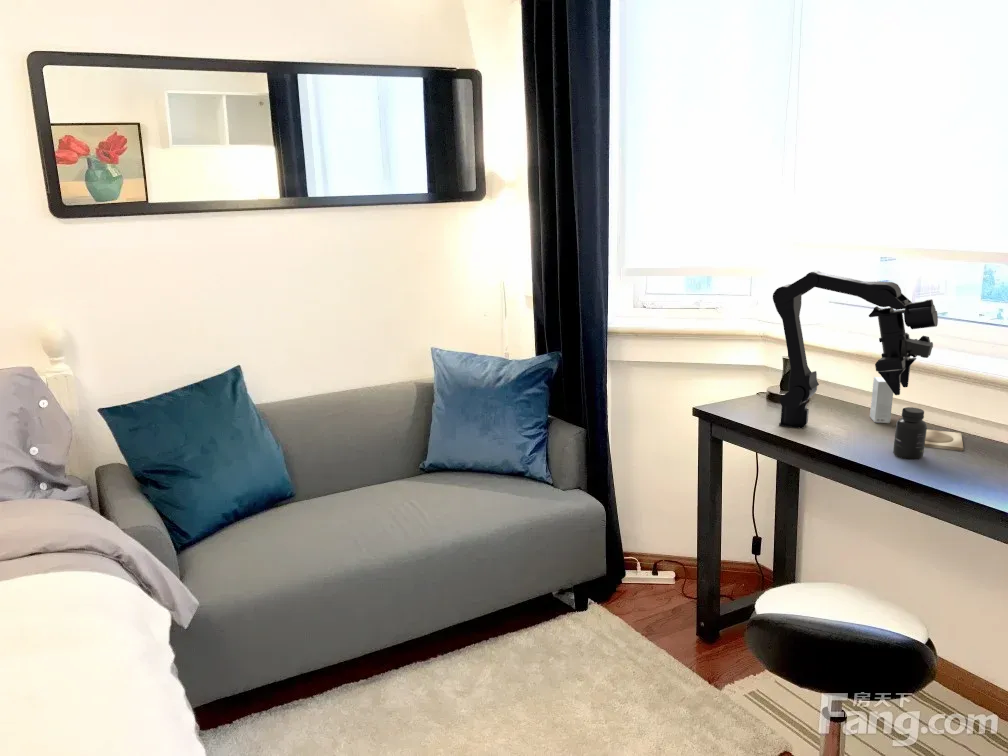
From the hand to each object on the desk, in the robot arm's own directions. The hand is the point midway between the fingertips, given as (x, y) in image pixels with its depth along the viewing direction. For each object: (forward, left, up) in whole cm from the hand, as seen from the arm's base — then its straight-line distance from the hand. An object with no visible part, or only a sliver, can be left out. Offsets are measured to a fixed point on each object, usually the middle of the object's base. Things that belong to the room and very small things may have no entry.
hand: (901, 391), depth 206 cm
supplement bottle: (+3, -10, -14) cm, 18 cm away
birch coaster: (+8, +6, -14) cm, 17 cm away
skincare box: (-6, +19, -14) cm, 24 cm away
